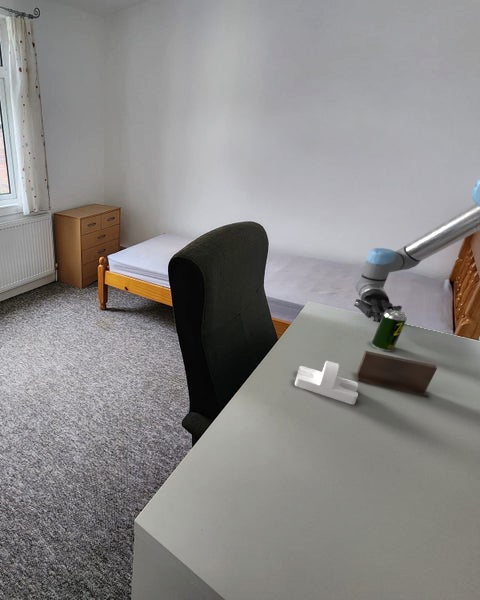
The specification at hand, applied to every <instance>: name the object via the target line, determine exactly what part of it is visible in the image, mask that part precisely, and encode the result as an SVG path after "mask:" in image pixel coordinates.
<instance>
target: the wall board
mask: <svg viewBox="0 0 480 600" xmlns="http://www.w3.org/2000/svg"><path fill="white" fill-rule="evenodd" d="M359 363H360V364H359V366H358V368H357V371H356V374H355V376H356V380H357V382H360V383H365V384H369V385H373V386H376V387H377V386H378V387H381V388H385V389H389V390H393V391H398V392H401V393H406V394H410V395H415V396H417V397H418V396H419V397H423V398H428V393H427V389H428V387H429V385H430V383H431V382H432V380H433V377H434V375H435V373H436V372H437V369H438V367H437V365H436V364H432V363H426V362H422V361H417V360H412V359H407V358H402V357H397V356H393V355H388V354H383V353H378V352H375V351H374V352H373V351H368V350H365V351H364V353H363V356H362V358H361V361H360V362H359Z"/></svg>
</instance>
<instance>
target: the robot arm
mask: <svg viewBox="0 0 480 600" xmlns="http://www.w3.org/2000/svg"><path fill="white" fill-rule="evenodd" d="M471 198H472V200H473V202H474V204H473V205H472V206H469V207H468V208H467V209H465V210H463V211H461V212H460V213H458V214H456V215H454V216H452V217H451V218H450V219H448V220H446V221H445V222H442V223H441V224H439V225H438V226H436V227H435V228H433V229H431V230H429V231H428V232H425V233H424V234H423V235H421V236H419V237H418V238H416V239H414V240H412V241H411V242H409V243H407V244H406V245H404V246H403V247H400V248H399V249H397V250H393V249H390V248H384V247H380V248H379V247H375V248H372V249H371V250H370V251H369V254H368V255H367V257H366V261H365V263H364V267H363V270H362V273H361V276H360V277H359V278H358V280H357V281H356V283H355V289H356V292H357V295H358V297H359V298H356V299H355V301H354V305H353V306H354V307H356V308H357V309H358V310H359V311H360V312H361V313H363V315H365V317H366V318H368V319H371V318H373V319H372V321H373V322H375V323H379V324H380V321H381V319H382V316H383V314H384V313H385V311H386V310H396V311H400V312H402V310H403V309H402V308H403V306H402V305H394V304H393V303H391V302H390V297H389V296H388V294H387V292H386V291H385V289H384V286H385V284H386V281H387V279H388V277H389V274H390V273H395V272H398V271H399V272H400V271H406V270H409V269H412V268H415V267H417V266H418V265H419V264H420V263H421V262H422V261H424V260H425V259H428V258H429V257H432V256H434V255H436V254H437V253H439V252H441V251H443V250H444V249H447V248H449V247H450V246H452V245H454V244H457V243H458V242H460V241H461V240H464V239H465V238H467V237H469V236H471V235H473V234H475V233H477V232H479V231H480V178H478V179H477V181H476V182H475V184H474V186H473V187H472V191H471Z"/></svg>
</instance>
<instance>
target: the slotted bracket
mask: <svg viewBox="0 0 480 600" xmlns="http://www.w3.org/2000/svg"><path fill="white" fill-rule="evenodd" d="M339 367H340V363H337V362H334V361H330V360H325V362H324V365H323V368H322V371H320V370H317V369H314V368H310V367H307V366H304V365H300V366H299V367H298V370H297V373H296V378H295V381H294V385H295V386H296V387H297V388H300V389H303V390H307V391H310V392H312V393H316V394H318V395H322V396H324V397H328V398H331V399H334V400H336V401H339V402H343V403H346V404H349V405H355V404H356V401H357V399H358V396H359V392H357V391H358V388H359V383H358V381H357V382H356V381H355V380H351V379H347V378H345V377H340V376H337V375H338V373H339Z"/></svg>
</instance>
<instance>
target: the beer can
mask: <svg viewBox="0 0 480 600" xmlns="http://www.w3.org/2000/svg"><path fill="white" fill-rule="evenodd" d="M407 318H408V315H407V314H406V313H405V312H403V311H396V310H392V309H390V310H386V311H385V313H384V314H383V316H382V319H381V321H380V323H379V324H378V327H377V329H376V332H375V333H374V336H373V339H372V341H371V344H372V346H373V348H375V349H378V350H379V351H383V352H391V351H393V350H394V349H395V348H396V344H397V342H398V340H399V338H400V336H401V333H402V331H403V328H404V326H405V324H406V322H407V320H408V319H407Z"/></svg>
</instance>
